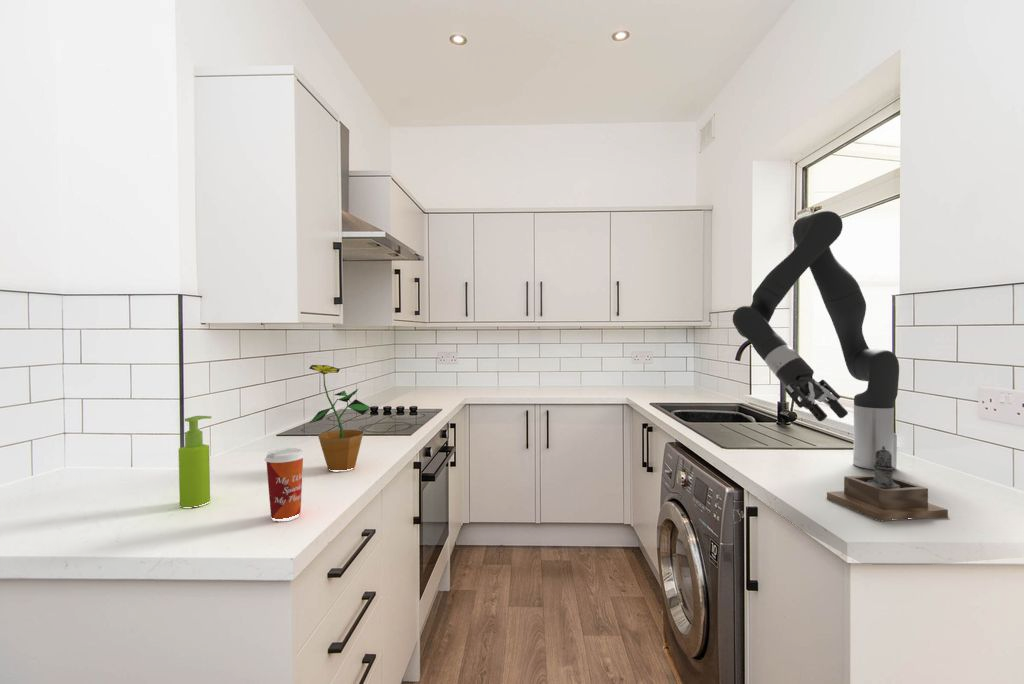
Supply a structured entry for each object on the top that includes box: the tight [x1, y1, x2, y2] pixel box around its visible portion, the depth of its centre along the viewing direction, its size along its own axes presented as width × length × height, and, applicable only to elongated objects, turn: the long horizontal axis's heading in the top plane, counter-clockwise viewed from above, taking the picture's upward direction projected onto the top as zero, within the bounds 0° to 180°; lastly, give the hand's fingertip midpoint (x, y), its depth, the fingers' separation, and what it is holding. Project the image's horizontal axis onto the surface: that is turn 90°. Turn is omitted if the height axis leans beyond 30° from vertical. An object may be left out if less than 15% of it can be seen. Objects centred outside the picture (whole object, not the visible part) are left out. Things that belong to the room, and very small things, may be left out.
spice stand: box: [826, 474, 949, 522], centre depth 109 cm, size 16×14×6 cm
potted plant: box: [308, 364, 371, 470], centre depth 142 cm, size 18×19×30 cm
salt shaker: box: [867, 446, 900, 489], centre depth 109 cm, size 6×6×12 cm
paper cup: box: [264, 447, 305, 519], centre depth 106 cm, size 8×8×14 cm
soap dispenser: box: [178, 415, 212, 507], centre depth 114 cm, size 6×7×20 cm
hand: (834, 417), depth 118 cm, fingers open, 8 cm apart
